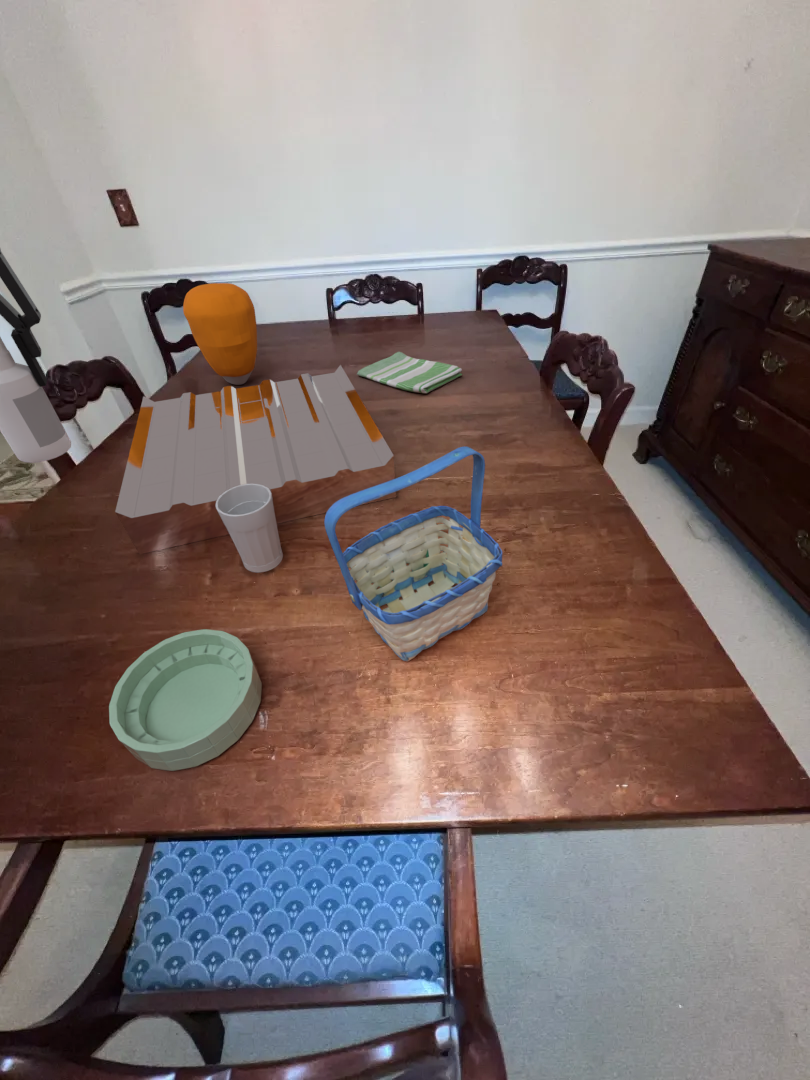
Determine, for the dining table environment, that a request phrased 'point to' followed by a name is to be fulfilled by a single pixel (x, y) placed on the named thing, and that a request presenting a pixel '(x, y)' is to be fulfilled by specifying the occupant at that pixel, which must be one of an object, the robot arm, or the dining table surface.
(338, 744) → the dining table surface
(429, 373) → the dish towel
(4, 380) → the white bottle
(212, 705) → the bowl
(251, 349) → the orange egg-shaped ornament
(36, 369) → the robot arm
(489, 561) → the basket
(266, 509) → the cup
